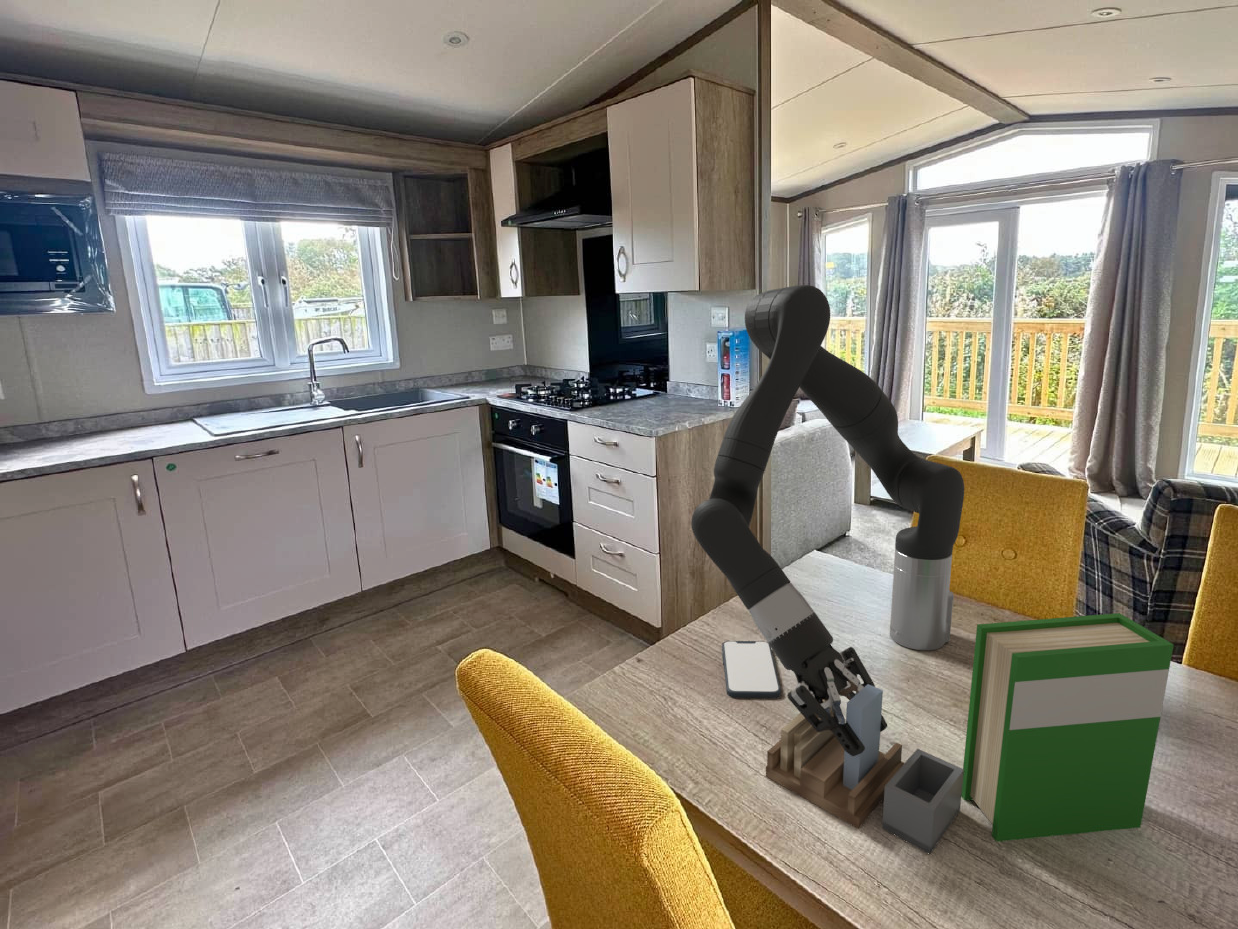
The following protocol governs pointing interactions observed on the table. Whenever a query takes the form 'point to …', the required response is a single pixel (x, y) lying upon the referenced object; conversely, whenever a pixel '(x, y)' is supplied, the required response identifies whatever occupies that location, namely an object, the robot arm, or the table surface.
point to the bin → (922, 800)
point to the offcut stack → (801, 743)
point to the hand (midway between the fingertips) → (870, 741)
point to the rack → (837, 781)
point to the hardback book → (1063, 724)
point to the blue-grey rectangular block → (863, 733)
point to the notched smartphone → (750, 670)
